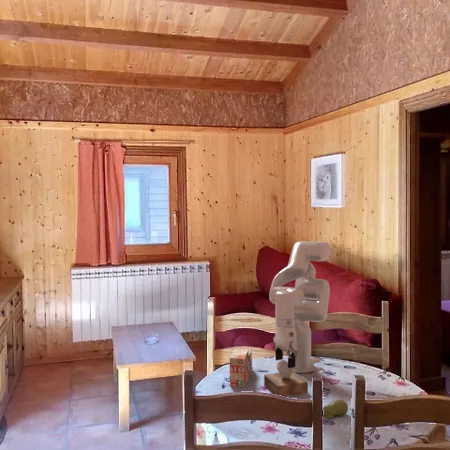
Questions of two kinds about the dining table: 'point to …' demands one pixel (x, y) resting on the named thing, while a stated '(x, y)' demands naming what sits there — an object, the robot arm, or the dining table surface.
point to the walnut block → (286, 384)
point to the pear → (335, 409)
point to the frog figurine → (284, 369)
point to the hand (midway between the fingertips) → (285, 363)
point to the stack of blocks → (240, 367)
